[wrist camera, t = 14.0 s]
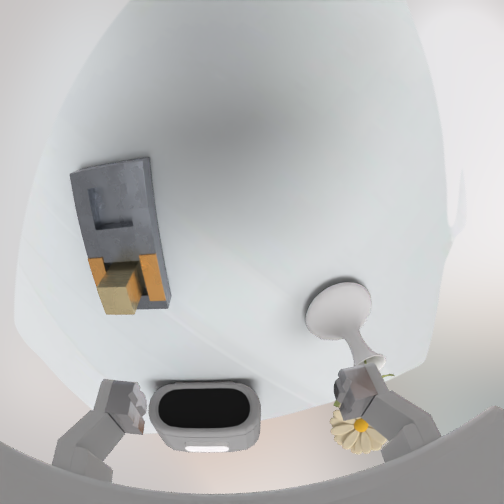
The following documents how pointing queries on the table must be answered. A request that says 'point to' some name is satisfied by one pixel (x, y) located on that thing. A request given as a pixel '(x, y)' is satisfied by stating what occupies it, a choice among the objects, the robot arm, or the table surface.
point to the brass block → (122, 288)
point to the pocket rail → (122, 224)
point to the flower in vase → (347, 327)
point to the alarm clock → (206, 416)
